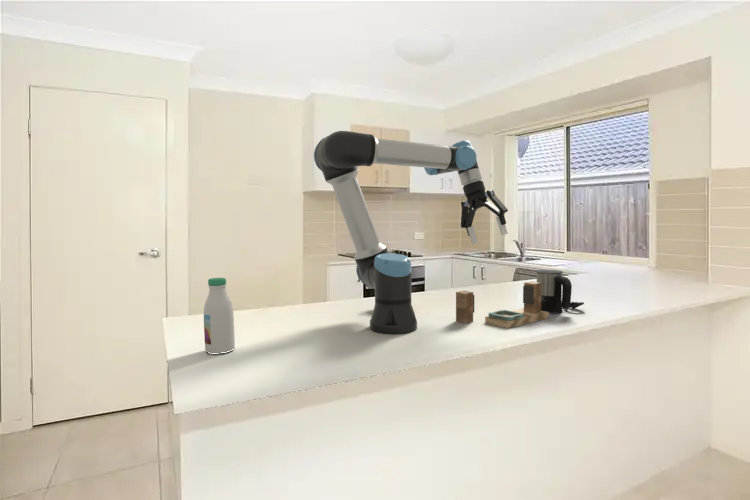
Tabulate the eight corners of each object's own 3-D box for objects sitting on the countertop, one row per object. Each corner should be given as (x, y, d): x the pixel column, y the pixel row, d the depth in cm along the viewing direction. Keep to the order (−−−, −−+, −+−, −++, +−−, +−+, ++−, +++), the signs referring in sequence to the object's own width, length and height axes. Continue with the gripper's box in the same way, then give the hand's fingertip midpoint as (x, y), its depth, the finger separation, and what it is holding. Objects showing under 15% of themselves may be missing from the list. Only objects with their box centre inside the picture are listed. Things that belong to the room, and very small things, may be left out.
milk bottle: (238, 346, 129) (235, 276, 127) (230, 355, 121) (227, 280, 119) (210, 347, 128) (207, 276, 127) (201, 355, 121) (197, 281, 119)
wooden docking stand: (507, 328, 144) (507, 290, 143) (485, 322, 151) (485, 286, 150) (548, 317, 156) (549, 283, 155) (526, 313, 164) (527, 280, 163)
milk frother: (530, 311, 168) (531, 271, 166) (551, 304, 178) (551, 266, 177) (568, 317, 157) (569, 274, 156) (588, 310, 168) (589, 270, 166)
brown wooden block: (464, 323, 151) (464, 293, 150) (455, 321, 154) (456, 291, 153) (474, 321, 153) (474, 291, 152) (465, 319, 157) (466, 290, 156)
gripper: (506, 169, 157) (524, 228, 156) (454, 193, 177) (470, 245, 175) (492, 171, 153) (511, 231, 151) (441, 195, 173) (457, 249, 171)
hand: (489, 239), depth 163 cm, fingers open, 13 cm apart
